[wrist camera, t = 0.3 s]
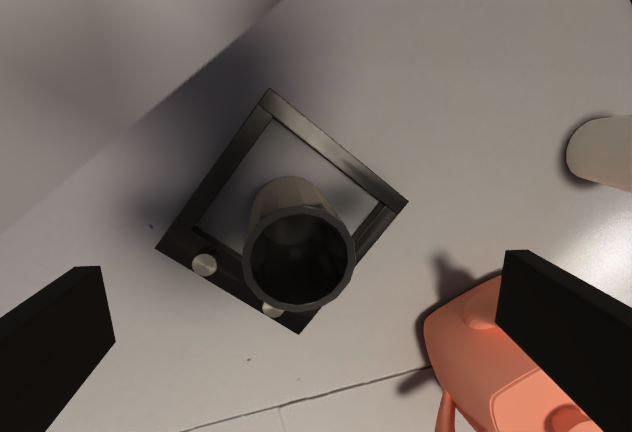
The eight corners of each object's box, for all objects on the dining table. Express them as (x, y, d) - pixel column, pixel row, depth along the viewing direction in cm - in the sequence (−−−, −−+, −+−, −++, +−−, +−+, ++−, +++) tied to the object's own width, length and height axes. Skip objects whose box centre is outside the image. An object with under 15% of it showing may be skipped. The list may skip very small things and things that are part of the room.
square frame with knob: (269, 89, 27) (269, 86, 25) (402, 197, 31) (413, 204, 29) (160, 242, 29) (150, 253, 27) (297, 326, 33) (299, 341, 31)
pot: (590, 285, 37) (744, 363, 25) (520, 415, 40) (625, 537, 28) (440, 242, 33) (535, 309, 21) (378, 389, 37) (430, 517, 25)
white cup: (639, 128, 32) (735, 129, 26) (600, 194, 34) (682, 212, 27) (584, 99, 31) (671, 93, 24) (546, 170, 32) (618, 183, 26)
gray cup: (282, 160, 29) (288, 182, 18) (341, 205, 31) (377, 248, 20) (237, 220, 30) (218, 274, 19) (297, 260, 32) (310, 330, 21)
